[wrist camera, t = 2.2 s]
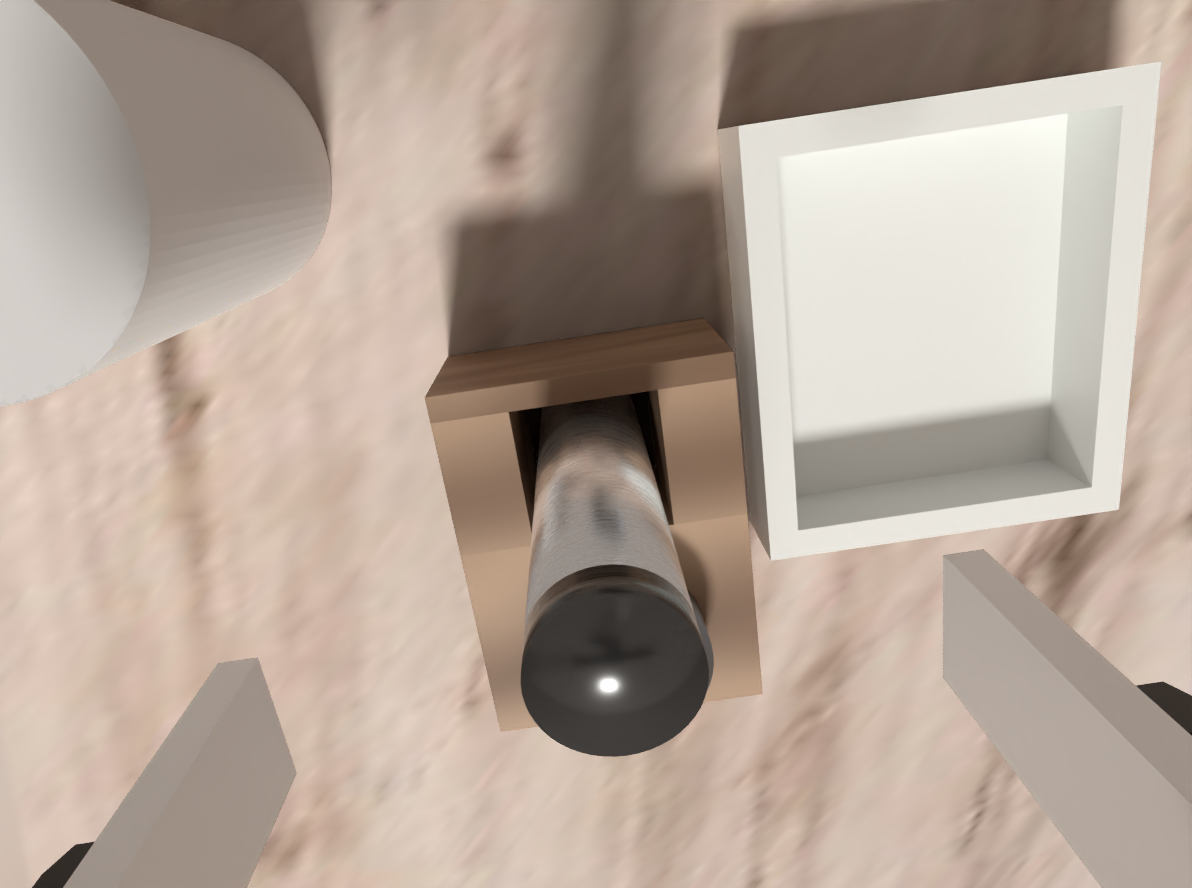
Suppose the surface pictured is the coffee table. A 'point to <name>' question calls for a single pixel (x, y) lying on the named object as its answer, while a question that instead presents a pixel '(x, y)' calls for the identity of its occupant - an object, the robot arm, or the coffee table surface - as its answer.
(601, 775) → the coffee table surface
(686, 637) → the pin
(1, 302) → the white cylinder
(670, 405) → the block
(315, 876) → the coffee table surface
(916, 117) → the tray
